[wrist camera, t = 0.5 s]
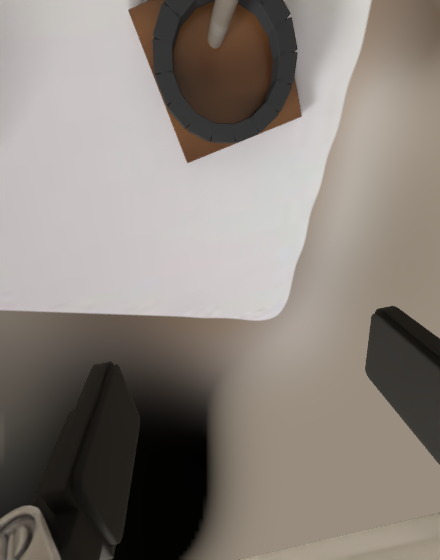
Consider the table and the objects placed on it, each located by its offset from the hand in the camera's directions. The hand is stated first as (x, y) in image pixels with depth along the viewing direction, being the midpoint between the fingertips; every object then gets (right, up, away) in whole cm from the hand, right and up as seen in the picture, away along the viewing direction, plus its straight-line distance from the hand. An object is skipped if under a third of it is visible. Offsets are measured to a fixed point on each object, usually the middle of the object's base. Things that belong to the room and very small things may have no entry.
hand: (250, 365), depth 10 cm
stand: (-1, +25, +19) cm, 32 cm away
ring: (-1, +25, +18) cm, 31 cm away
